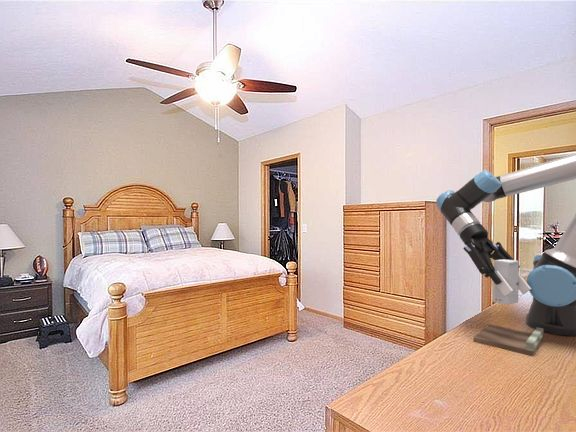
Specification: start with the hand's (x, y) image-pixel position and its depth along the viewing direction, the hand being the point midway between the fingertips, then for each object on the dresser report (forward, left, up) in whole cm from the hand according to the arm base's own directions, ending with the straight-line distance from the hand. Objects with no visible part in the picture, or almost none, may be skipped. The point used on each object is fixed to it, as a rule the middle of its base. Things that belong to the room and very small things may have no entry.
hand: (518, 292), depth 97 cm
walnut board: (0, -3, -15) cm, 15 cm away
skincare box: (+1, -4, -4) cm, 5 cm away
